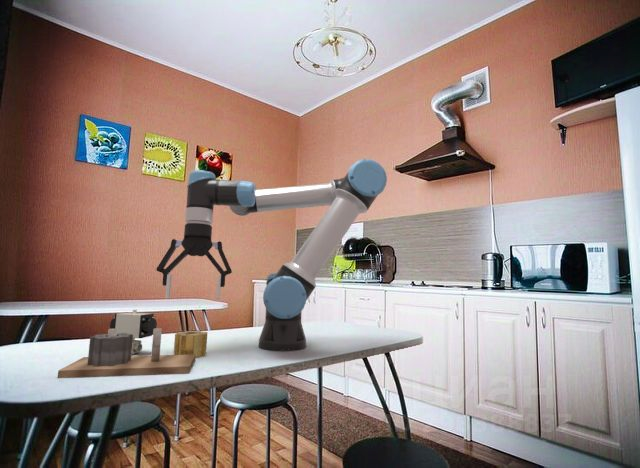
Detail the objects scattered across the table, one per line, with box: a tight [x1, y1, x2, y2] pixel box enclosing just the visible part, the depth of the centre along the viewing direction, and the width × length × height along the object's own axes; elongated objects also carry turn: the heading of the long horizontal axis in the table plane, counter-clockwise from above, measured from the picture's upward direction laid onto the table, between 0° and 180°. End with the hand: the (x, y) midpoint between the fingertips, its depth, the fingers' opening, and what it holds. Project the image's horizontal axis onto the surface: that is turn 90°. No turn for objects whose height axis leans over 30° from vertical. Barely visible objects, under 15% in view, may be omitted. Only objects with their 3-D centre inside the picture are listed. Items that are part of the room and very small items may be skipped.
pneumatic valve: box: [109, 309, 158, 356], centre depth 100 cm, size 6×12×12 cm, turn 79°
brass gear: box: [173, 330, 209, 359], centre depth 99 cm, size 8×8×6 cm
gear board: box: [57, 327, 196, 379], centre depth 84 cm, size 26×13×9 cm, turn 103°
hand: (193, 298), depth 100 cm, fingers open, 13 cm apart
